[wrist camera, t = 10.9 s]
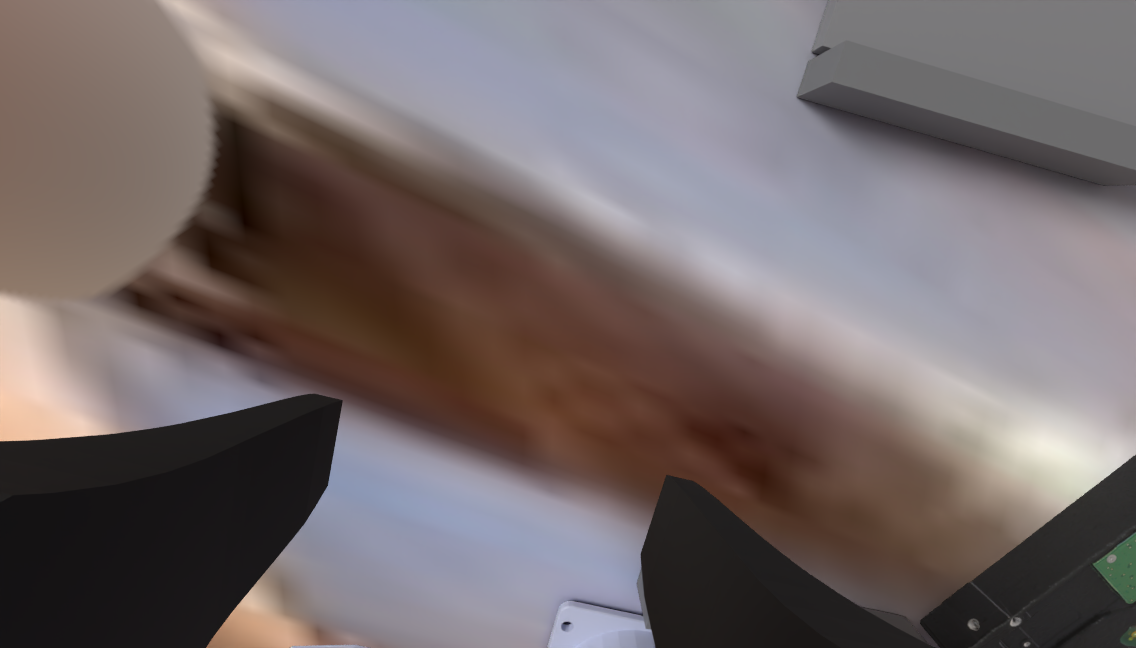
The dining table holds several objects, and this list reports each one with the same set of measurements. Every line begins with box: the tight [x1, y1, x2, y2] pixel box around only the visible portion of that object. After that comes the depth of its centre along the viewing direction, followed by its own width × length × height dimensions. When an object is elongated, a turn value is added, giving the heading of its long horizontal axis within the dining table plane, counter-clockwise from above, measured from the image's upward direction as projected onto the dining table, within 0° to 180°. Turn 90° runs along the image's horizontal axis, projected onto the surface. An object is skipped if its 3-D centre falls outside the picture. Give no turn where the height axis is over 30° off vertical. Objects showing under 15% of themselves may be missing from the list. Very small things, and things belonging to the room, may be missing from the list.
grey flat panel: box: [637, 0, 1136, 644], centre depth 19 cm, size 30×12×2 cm, turn 166°
